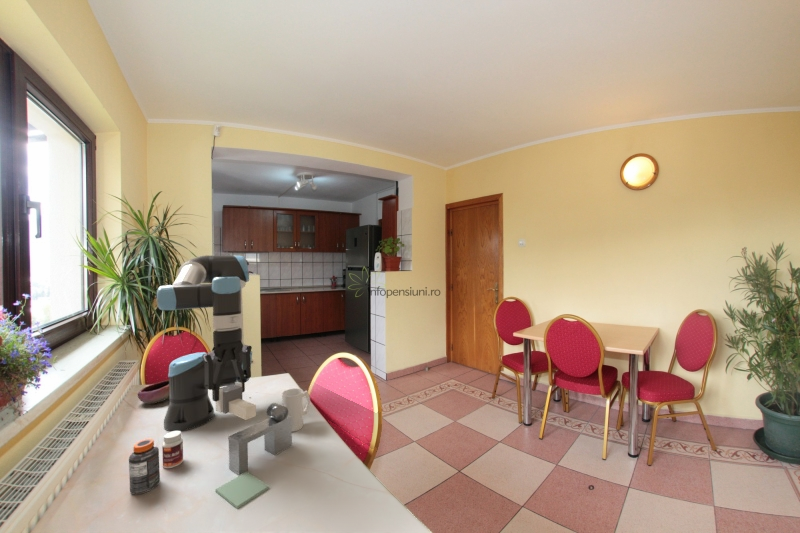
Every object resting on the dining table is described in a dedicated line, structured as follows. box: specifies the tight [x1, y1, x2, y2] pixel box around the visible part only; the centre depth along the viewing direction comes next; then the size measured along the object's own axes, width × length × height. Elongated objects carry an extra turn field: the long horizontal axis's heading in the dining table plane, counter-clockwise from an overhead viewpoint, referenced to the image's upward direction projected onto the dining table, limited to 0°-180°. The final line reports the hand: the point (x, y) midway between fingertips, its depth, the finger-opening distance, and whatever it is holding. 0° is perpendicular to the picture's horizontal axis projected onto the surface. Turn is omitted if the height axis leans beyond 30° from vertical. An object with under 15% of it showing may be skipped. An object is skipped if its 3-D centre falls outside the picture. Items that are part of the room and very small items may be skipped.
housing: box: [228, 402, 293, 476], centre depth 93 cm, size 5×16×13 cm, turn 145°
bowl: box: [137, 379, 170, 404], centre depth 135 cm, size 16×13×8 cm
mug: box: [281, 388, 311, 432], centre depth 111 cm, size 10×7×12 cm, turn 139°
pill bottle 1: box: [128, 438, 161, 495], centre depth 81 cm, size 6×6×11 cm
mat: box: [215, 471, 270, 510], centre depth 79 cm, size 10×8×1 cm
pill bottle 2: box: [161, 431, 184, 469], centre depth 91 cm, size 5×5×8 cm
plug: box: [220, 384, 257, 421], centre depth 93 cm, size 15×5×6 cm, turn 55°
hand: (229, 407), depth 95 cm, fingers closed on plug, 5 cm apart
